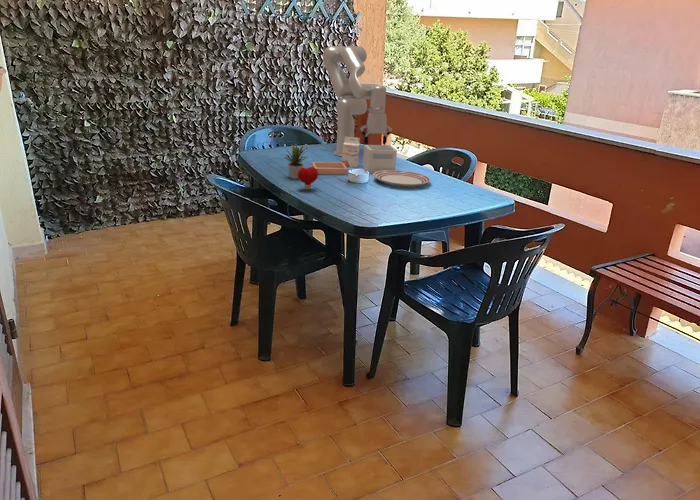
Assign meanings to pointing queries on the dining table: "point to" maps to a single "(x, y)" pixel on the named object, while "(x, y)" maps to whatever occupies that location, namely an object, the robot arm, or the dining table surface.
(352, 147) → the ink cartridge box
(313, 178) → the red heart ornament
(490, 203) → the dining table surface
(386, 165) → the grey unit
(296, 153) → the house plant
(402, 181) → the dinner plate
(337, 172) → the tray
